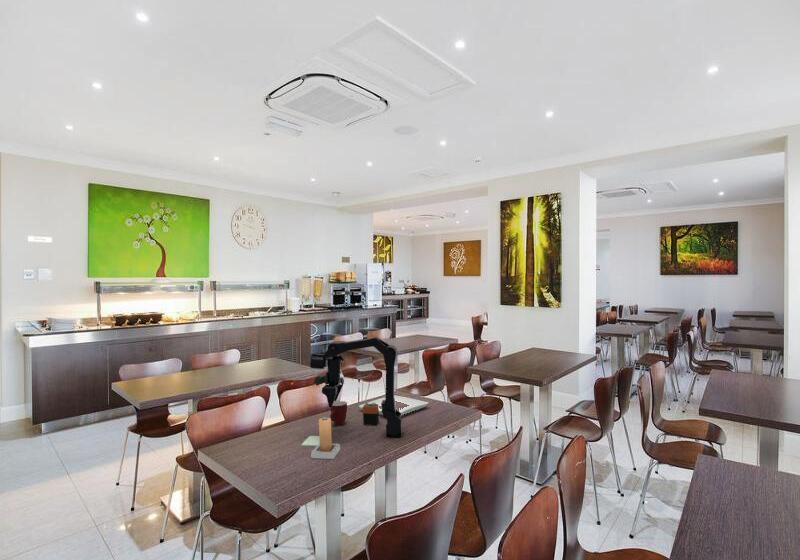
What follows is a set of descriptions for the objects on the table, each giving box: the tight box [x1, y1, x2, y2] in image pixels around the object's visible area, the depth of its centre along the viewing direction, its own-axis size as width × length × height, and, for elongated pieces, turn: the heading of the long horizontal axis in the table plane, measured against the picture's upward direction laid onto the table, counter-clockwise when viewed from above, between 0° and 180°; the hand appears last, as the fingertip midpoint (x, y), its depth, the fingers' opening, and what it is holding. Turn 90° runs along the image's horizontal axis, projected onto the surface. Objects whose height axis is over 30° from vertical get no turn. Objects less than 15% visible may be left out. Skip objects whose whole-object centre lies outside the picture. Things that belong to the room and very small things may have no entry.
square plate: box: [358, 394, 429, 417], centre depth 229 cm, size 27×27×4 cm
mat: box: [301, 435, 320, 447], centre depth 187 cm, size 10×10×1 cm
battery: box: [362, 402, 380, 426], centre depth 208 cm, size 4×7×10 cm, turn 78°
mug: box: [329, 400, 348, 426], centre depth 208 cm, size 11×8×10 cm
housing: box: [310, 443, 341, 460], centre depth 173 cm, size 9×9×2 cm
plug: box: [318, 416, 333, 451], centre depth 173 cm, size 5×5×15 cm
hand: (332, 404), depth 194 cm, fingers open, 9 cm apart
